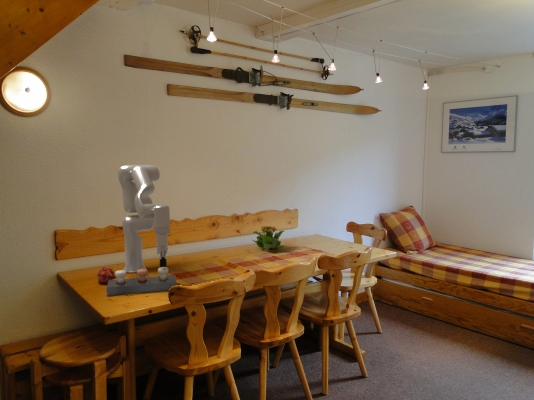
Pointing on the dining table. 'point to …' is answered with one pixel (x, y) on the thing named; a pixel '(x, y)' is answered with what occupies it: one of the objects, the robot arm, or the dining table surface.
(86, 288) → the dining table surface
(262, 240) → the potted flower
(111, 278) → the dragon fruit
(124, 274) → the knob
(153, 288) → the knob mount
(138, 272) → the dial
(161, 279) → the knob
